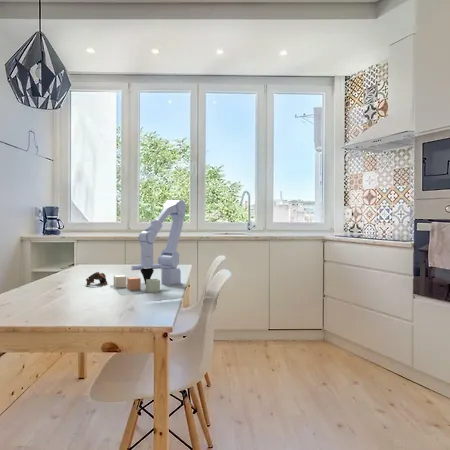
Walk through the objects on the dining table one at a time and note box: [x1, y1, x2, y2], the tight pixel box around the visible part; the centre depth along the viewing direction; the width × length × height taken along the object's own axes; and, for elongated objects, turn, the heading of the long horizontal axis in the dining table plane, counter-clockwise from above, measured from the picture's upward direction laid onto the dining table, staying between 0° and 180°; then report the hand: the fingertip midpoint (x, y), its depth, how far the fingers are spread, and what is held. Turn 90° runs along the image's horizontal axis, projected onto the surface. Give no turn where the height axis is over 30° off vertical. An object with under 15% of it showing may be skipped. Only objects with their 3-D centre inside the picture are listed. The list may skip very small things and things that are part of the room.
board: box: [110, 282, 165, 296], centre depth 177 cm, size 19×26×1 cm
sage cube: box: [146, 278, 161, 293], centre depth 172 cm, size 5×5×5 cm
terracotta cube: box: [126, 276, 142, 290], centre depth 177 cm, size 5×5×5 cm
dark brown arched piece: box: [85, 271, 108, 286], centre depth 189 cm, size 12×10×8 cm
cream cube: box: [113, 274, 127, 288], centre depth 183 cm, size 5×5×5 cm
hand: (146, 284), depth 180 cm, fingers closed
